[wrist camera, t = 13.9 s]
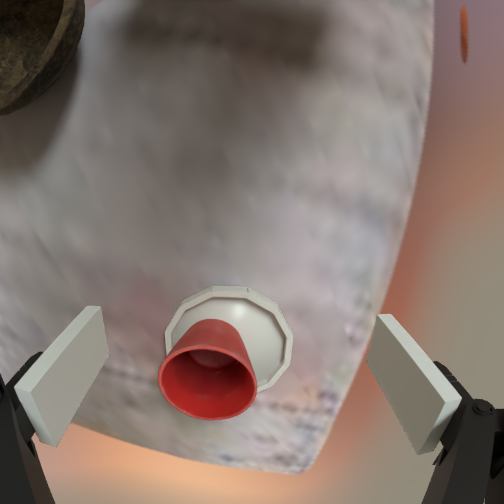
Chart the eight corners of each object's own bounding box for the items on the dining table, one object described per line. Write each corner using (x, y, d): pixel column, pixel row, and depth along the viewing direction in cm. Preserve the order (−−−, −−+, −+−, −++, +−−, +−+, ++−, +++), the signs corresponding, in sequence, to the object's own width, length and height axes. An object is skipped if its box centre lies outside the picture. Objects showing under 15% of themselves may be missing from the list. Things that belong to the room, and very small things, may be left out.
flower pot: (215, 388, 43) (211, 434, 34) (157, 340, 41) (139, 381, 32) (270, 345, 42) (278, 389, 32) (211, 290, 40) (203, 326, 30)
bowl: (-26, 96, 31) (-65, 89, 21) (45, -17, 27) (15, -42, 18) (49, 148, 35) (4, 145, 25) (137, 12, 31) (113, -24, 21)
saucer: (165, 283, 40) (162, 288, 38) (295, 287, 41) (297, 292, 39) (172, 386, 44) (170, 394, 42) (283, 390, 44) (285, 398, 43)
